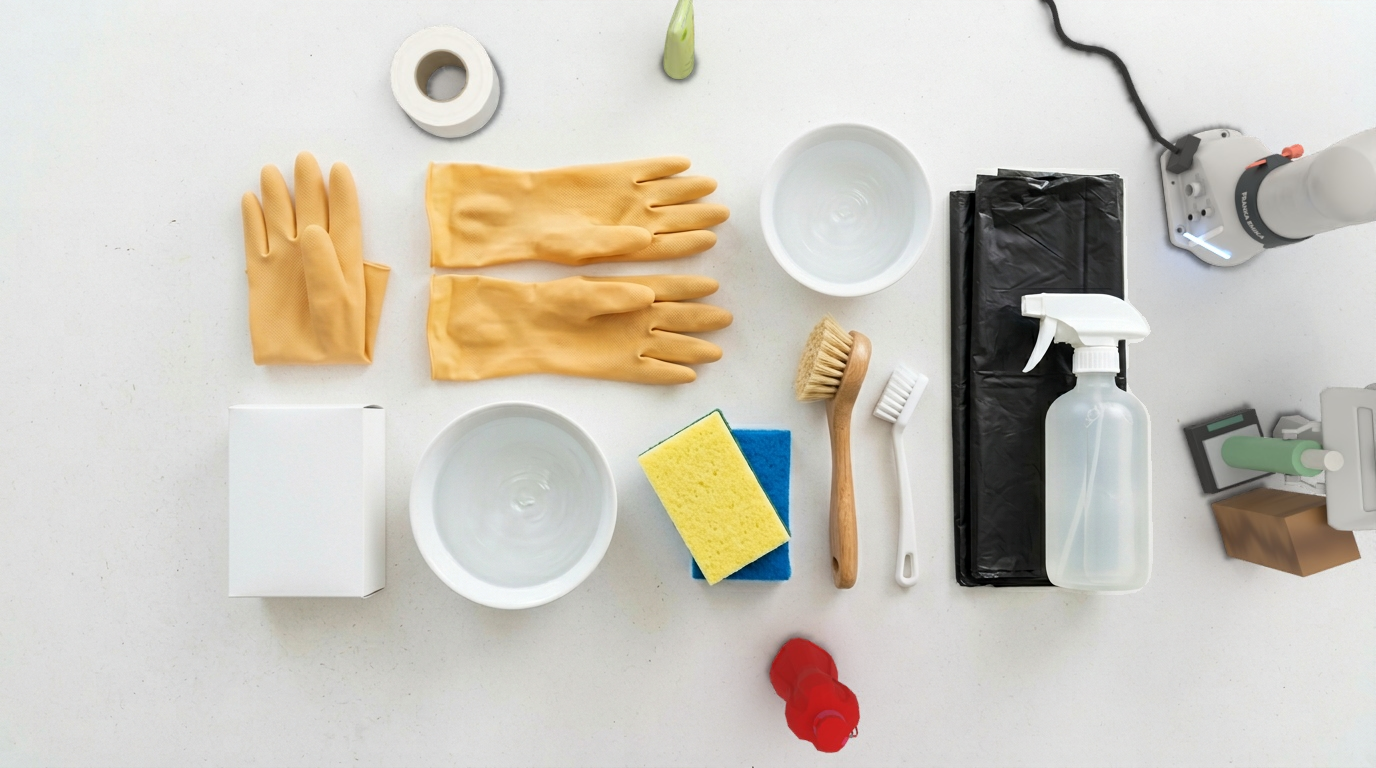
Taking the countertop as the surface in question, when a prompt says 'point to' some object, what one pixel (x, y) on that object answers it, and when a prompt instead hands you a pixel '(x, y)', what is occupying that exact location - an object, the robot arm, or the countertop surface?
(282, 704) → the countertop surface
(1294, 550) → the brown wooden block
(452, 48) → the tape roll
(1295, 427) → the flask
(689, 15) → the tube
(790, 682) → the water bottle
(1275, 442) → the green bottle
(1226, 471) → the scale
